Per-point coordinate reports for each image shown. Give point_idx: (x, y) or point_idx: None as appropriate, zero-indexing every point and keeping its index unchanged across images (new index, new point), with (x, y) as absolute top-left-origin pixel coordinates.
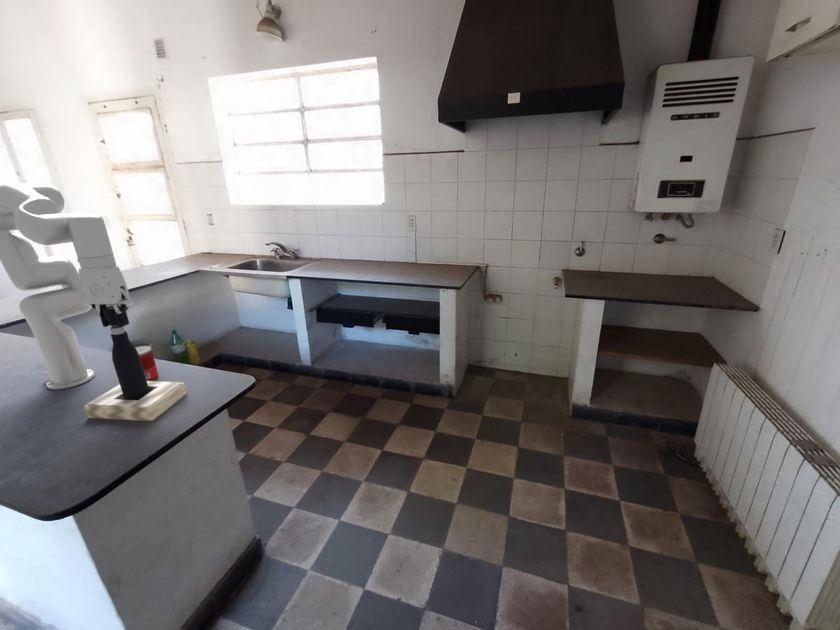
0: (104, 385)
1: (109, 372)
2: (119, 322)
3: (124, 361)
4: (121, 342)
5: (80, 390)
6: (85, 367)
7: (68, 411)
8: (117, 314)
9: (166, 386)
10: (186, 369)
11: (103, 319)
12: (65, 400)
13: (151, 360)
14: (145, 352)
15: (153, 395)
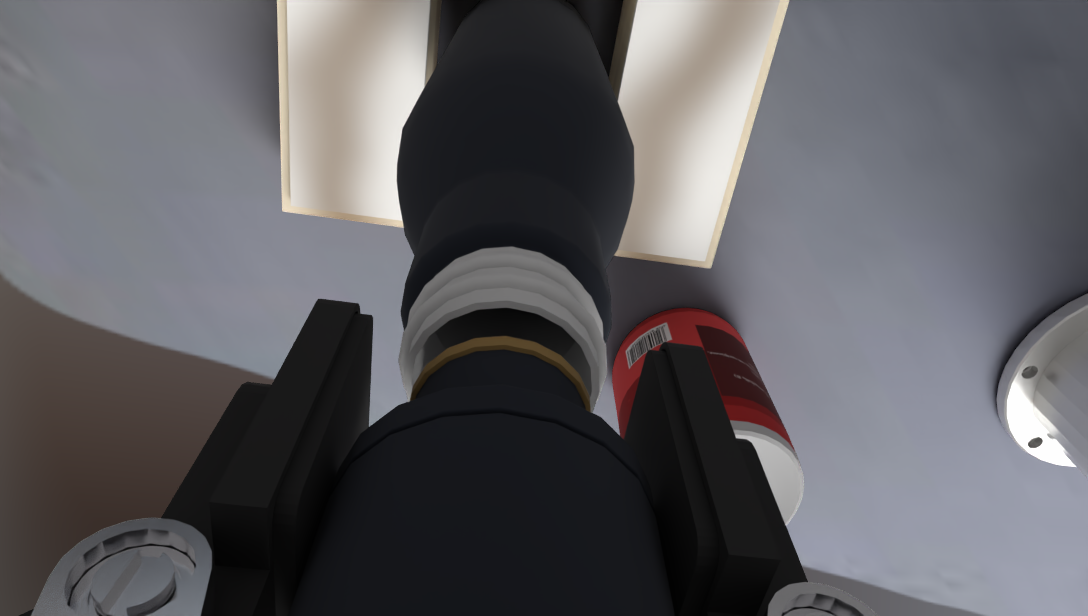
0: (886, 309)
1: (928, 443)
2: (294, 364)
3: (457, 66)
4: (449, 194)
5: (1003, 262)
6: (1063, 441)
7: (960, 12)
8: (220, 516)
9: (358, 154)
10: None
11: (677, 444)
12: (1042, 152)
13: None
14: None
15: (366, 26)
